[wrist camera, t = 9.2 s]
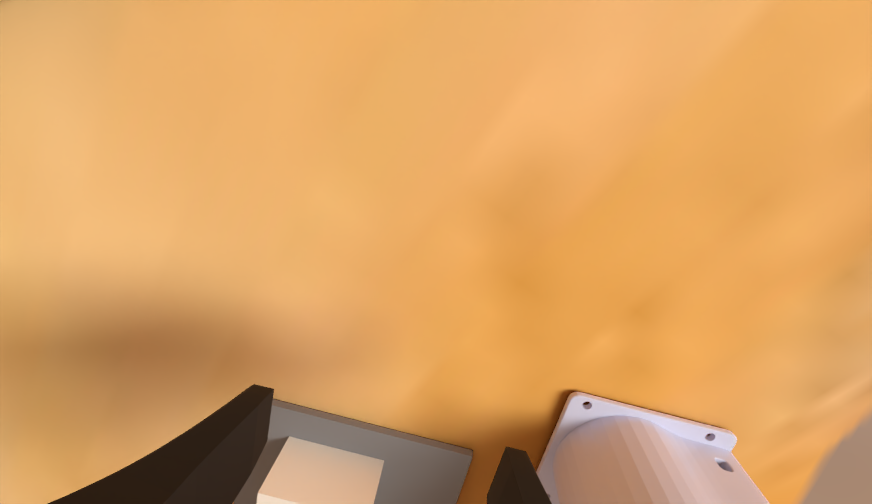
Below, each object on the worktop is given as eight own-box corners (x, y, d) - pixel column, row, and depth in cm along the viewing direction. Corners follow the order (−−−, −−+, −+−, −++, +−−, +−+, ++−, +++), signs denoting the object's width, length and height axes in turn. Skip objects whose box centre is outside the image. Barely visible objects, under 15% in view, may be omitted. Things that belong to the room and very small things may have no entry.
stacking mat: (472, 450, 26) (472, 456, 25) (434, 560, 29) (433, 567, 28) (249, 392, 26) (244, 398, 25) (236, 509, 29) (232, 516, 28)
